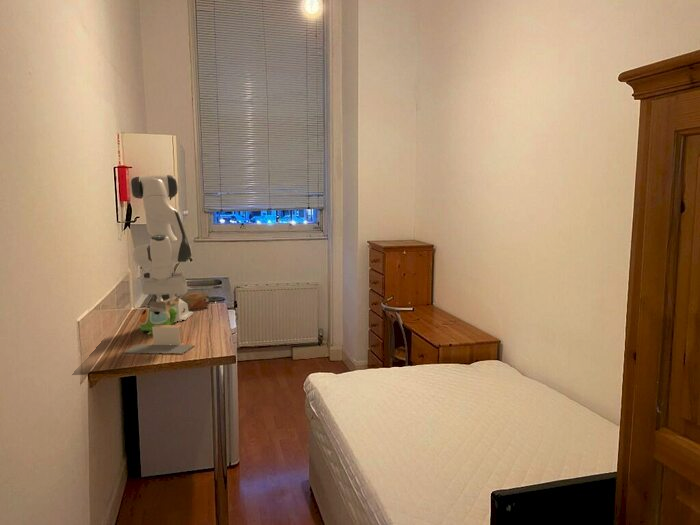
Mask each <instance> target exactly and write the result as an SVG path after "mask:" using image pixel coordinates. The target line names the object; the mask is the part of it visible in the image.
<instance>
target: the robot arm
mask: <svg viewBox="0 0 700 525" xmlns="http://www.w3.org/2000/svg"><path fill="white" fill-rule="evenodd" d="M179 186H180V184H179V182H178V180H177V178H176V177H175V176H174V175H170V174H167V175H162V174H153V175H145V176H135V177H132V179H131V180H130V183H129V190H130V193H131V195H132V197H133V198H136V199H138V200H139V199H142V204H143V209H144V212H145V213H144V214H145V223H146V224H145V225H146V230H147V233H148V234H149V235H151V237H150V240H149V241H150V242H149V243H145V244H141V245H137V246H136V247H135V248H134V250H133V253H132V257H133V258H132V259H133V261H134V262H135V264H136V265H137V266H139V267H140V268H142V269H143V270H144V271H146V272H142V273H141V278H142V280H141V292H142V294H144V295H152V302H163V301H165V300H167V299H170V300H168V304H173V299H174V297H178V300H179V304H177V305H175V306H172V307H175V308H176V310H177V311H178V313H177V314H176V319H175V321H174V323H178V322H183V321H182V320H185V321H186V319H187V318H188V319H189V318H191V316H193V315H194V312H193V311H190V310H189V309H188V305H187V303H186V302H184V301H183V300H182V298H181V296H180V295H186V294H187V293H188V291H189V289H188V284H187V277H186V275H185V274H184V273H182V272H175V271H174V269H175V268H174V265H177V264H181V263H186V262H187V261H189V259H190V258H191V257H192V254H193V251H192V247H191V244H190V243H189V241H188V237H187V235H186V232H185V229H184V228H185V227H184V225H183V223H182V219H181V217H180V214H179V212H178V210H177V209H176V208H173V207H172V206H171V204H170V201H171V200H172V199H173V198H174V197H176V196H177V194H178V191H179ZM172 228H173V230H174V232H173V230H172ZM172 307H170V308H168V309H166V310H167V312H168V313H169V310H170V309H171V308H172ZM169 316H170V313H169ZM188 319H187V320H188ZM177 321H178V322H177Z"/></svg>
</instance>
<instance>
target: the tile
mask: <svg viewBox="0 0 700 525" xmlns="http://www.w3.org/2000/svg"><path fill="white" fill-rule="evenodd" d="M152 332H153V334H152V339H153V345H170V344H171V345H180V344H182V343H185V342H184V333H183V332H184V331H183V325H180V324H179V325H178V324H175V325H173V324H171V325H155V326H153V327H152ZM182 345H183V344H182Z"/></svg>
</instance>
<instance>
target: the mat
mask: <svg viewBox="0 0 700 525" xmlns="http://www.w3.org/2000/svg"><path fill="white" fill-rule="evenodd" d="M194 346H195V345H193V344H192V345H191V344H190V345H189V344H188V345H187V344H182V345H154V344H136V345H134V346H132V347H130V348H129V349H126V350H124V351H122V354H130V355H131V354H133V355H137V354H138V353H149V354H148V355H160V354H159V353H162V354H161V355H167V354H166V353H177V354H176V355H184V354H185V353H184V352H186V351H187V350H189V349H190V350H192V349H193V348H195V347H194ZM192 347H193V348H192ZM191 348H192V349H191ZM190 350H189V351H190ZM187 352H188V351H187ZM187 352H186V353H187ZM164 353H165V354H164ZM180 353H181V354H180ZM183 353H184V354H183ZM138 355H139V354H138Z"/></svg>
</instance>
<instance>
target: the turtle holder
mask: <svg viewBox="0 0 700 525" xmlns="http://www.w3.org/2000/svg"><path fill="white" fill-rule="evenodd" d="M169 313H170V316H169ZM169 313H168V312H167V310H166V312H150V305H147V306H145V307H144V309H143V310H142V311H141V313H140V317H139V321H138V322H139V325H140V326H139V328H140V330H142V332H147V331H148V332H147V334H151V335H153V332H152V327H153V326H155V325H173V324H174V323H175V322H174V321H175V319H176V314H177V313H178V311H177V310H176V308H175V307H172V308H171V309H170V310H169Z"/></svg>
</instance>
